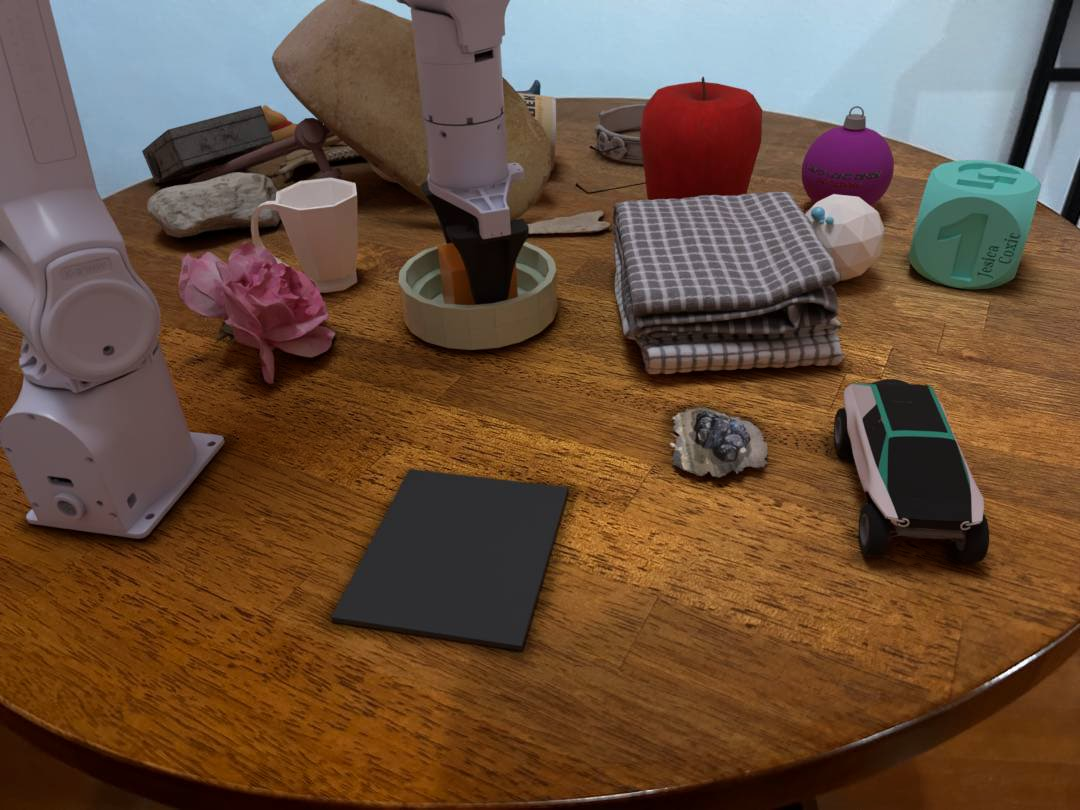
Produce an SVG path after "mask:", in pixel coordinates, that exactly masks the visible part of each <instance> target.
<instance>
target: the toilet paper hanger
mask: <svg viewBox="0 0 1080 810" xmlns="http://www.w3.org/2000/svg"><path fill="white" fill-rule="evenodd" d="M296 124H297V125H296V128H295V131H294V136H292V137H289V138H287V139H284V140H281V141H279V142H276V143H274V144H271V145H268V146H266V147H261V148H259V149H257V150H255V151H253V152H251V153H248V154H246V155H243V156H241V157H238V158H236V159H234V160H231V161H229V162H227V163H224V164H221V165H218V166H214V167H212V168H210V169H209V170H207V171H204V172H202V173H200V174H198V175H196V176H195V177H193V178H192V179H191V180H190V181H189V184H192V183H198V182H204V181H207V180H211V179H213V178H216V177H220V176H223V175H226V174H230V173H234V172H241V173H242V172H243V171H246V170H248V169H251V168H253V167H256V166H259V165H262V164H265V163H267V162H270V161H272V160H275V159H278V158H281V157H283V156H287V155H288V154H290V153H292V152H294V151H296V150H299V149H301V148H304V149H306V150H312V152H313V154H314V156H315V159H316V161H317V163H316V164H317V165H318V168H319V170H320V172H321V174H317V175H316V177H315V179H323V178H335V179H339V180H344V181H346V179H343V177H342V176H343V172H342V169H341V168H340V167H336V168H333V169H332V167H331V164H330V161H329V162H328V160H327V157H326V155H325V153H324V151H323V148H322V145H323V144H325V141H326V139H328V138H331V137H333V136H336V135H335V134H334V133H332V132H331V131H330V130H329V129H328V128H327V127H326V126H325V125H324V124H322V123H321V122H320V121H319V120H318V119H317V118H316V117H305V118H303V120H301V121H300V122H298V123H296Z"/></svg>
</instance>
